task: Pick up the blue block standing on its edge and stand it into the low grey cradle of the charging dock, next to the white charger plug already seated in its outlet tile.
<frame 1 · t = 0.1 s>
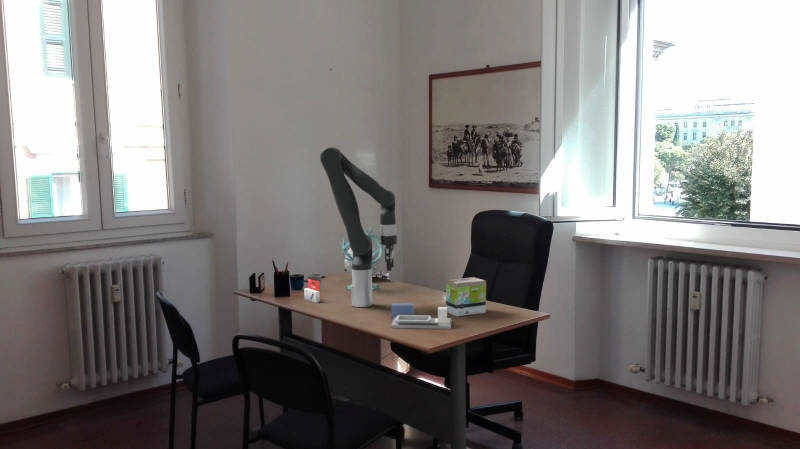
hand: (390, 268, 302), 17 cm above the table, tool pointing down, fingers open, 8 cm apart
blue block: (402, 318, 281), on the table
armillary sphere: (362, 288, 345), on the table
dock: (421, 324, 270), on the table
tea box: (465, 313, 289), on the table
decorative sphere: (362, 279, 369), on the table
ink cartridge box: (312, 300, 317), on the table
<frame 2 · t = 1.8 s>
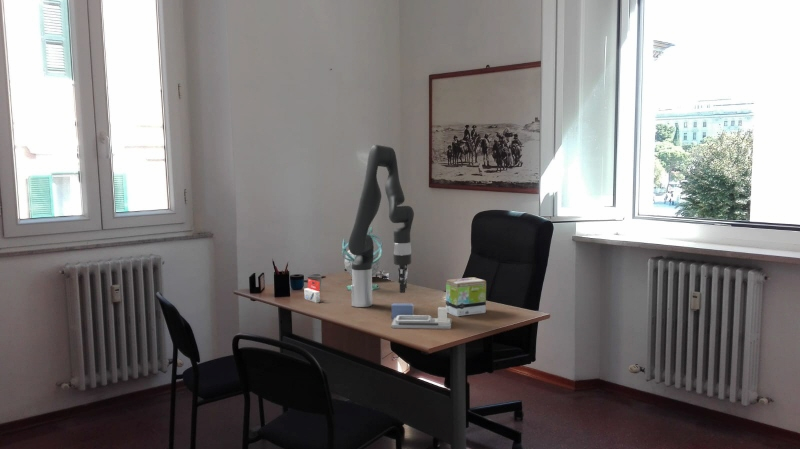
hand: (403, 290, 280), 12 cm above the table, tool pointing down, fingers open, 8 cm apart
nothing on the table moved.
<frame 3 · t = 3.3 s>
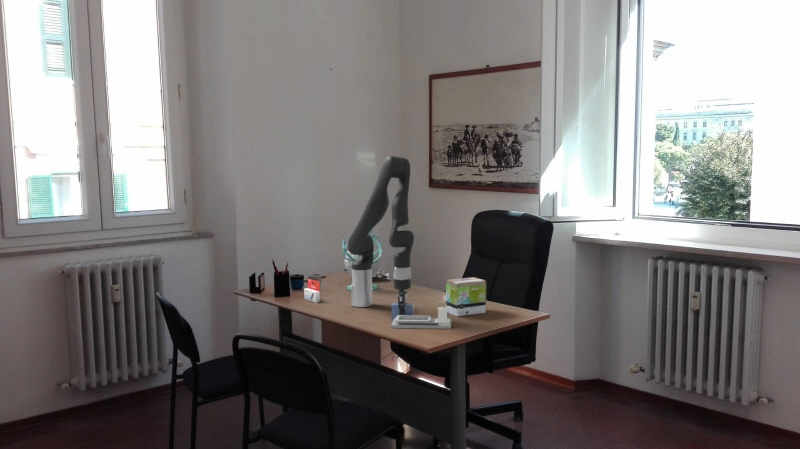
hand: (402, 316, 281), 1 cm above the table, tool pointing down, fingers closed on blue block, 4 cm apart
blue block: (402, 317, 281), on the table, touching gripper
everything else where it was.
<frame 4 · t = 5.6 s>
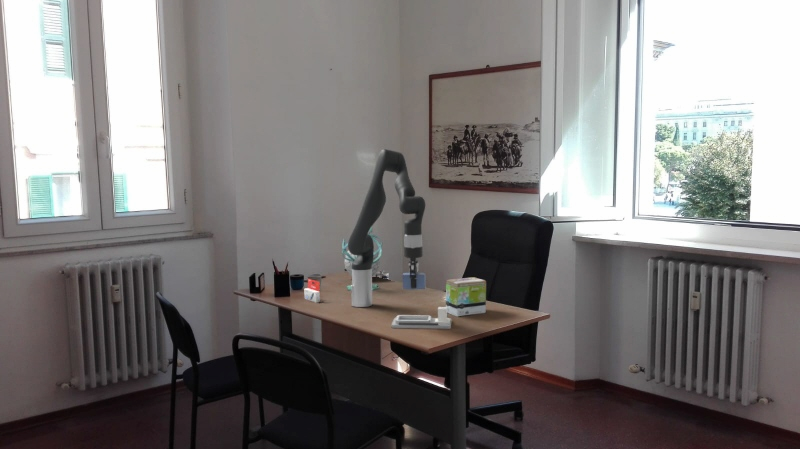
hand: (414, 286, 269), 16 cm above the table, tool pointing down, fingers closed on blue block, 4 cm apart
blue block: (414, 288, 269), point 15 cm above the table, touching gripper
everything else where it was.
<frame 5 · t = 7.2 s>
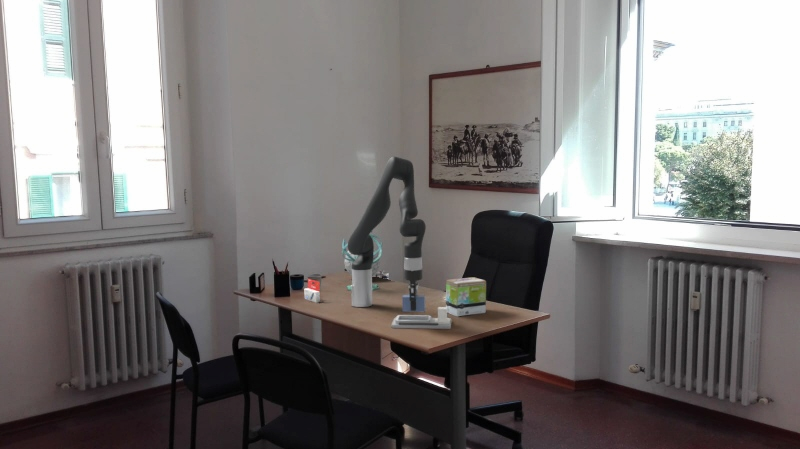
hand: (413, 308, 270), 6 cm above the table, tool pointing down, fingers closed on blue block, 4 cm apart
blue block: (414, 310, 270), point 6 cm above the table, touching gripper
everything else where it was.
when the fingers open (3 cm above the table, at t = 8.2 s): blue block drops 2 cm, resting on dock.
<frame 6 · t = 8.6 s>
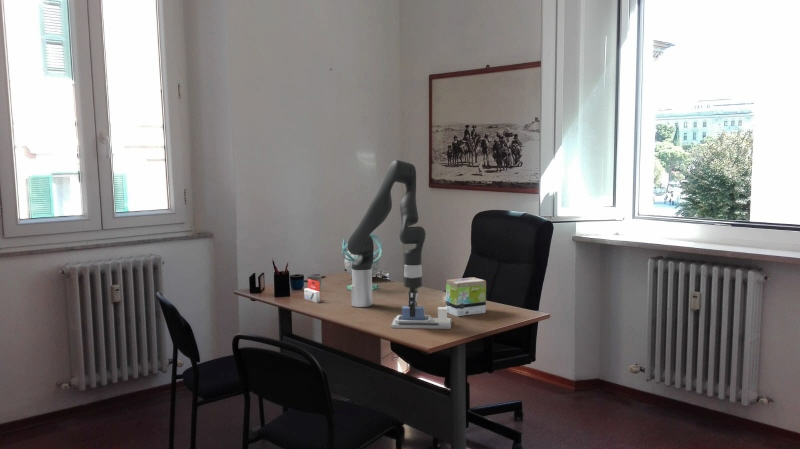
hand: (413, 314, 270), 4 cm above the table, tool pointing down, fingers open, 8 cm apart
blue block: (413, 321, 270), point 1 cm above the table, touching dock
everything else where it was.
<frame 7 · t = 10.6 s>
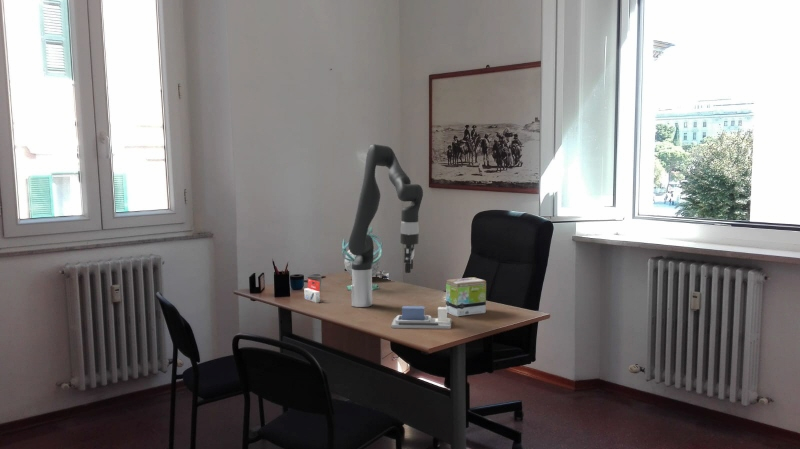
hand: (409, 270, 274), 21 cm above the table, tool pointing down, fingers open, 8 cm apart
nothing on the table moved.
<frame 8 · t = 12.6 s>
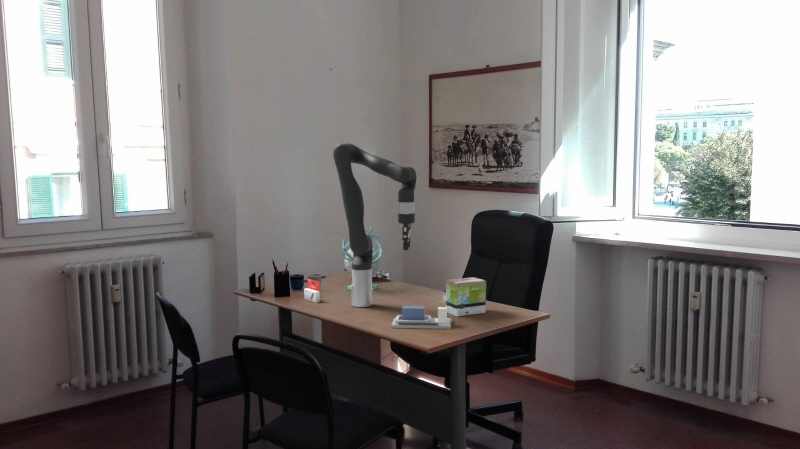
hand: (406, 248, 290), 28 cm above the table, tool pointing down, fingers open, 8 cm apart
nothing on the table moved.
at the end: blue block inside the target area on the dock (0.1 cm from its centre), point 1.2 cm above the dock's base; the gripper is holding nothing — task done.
